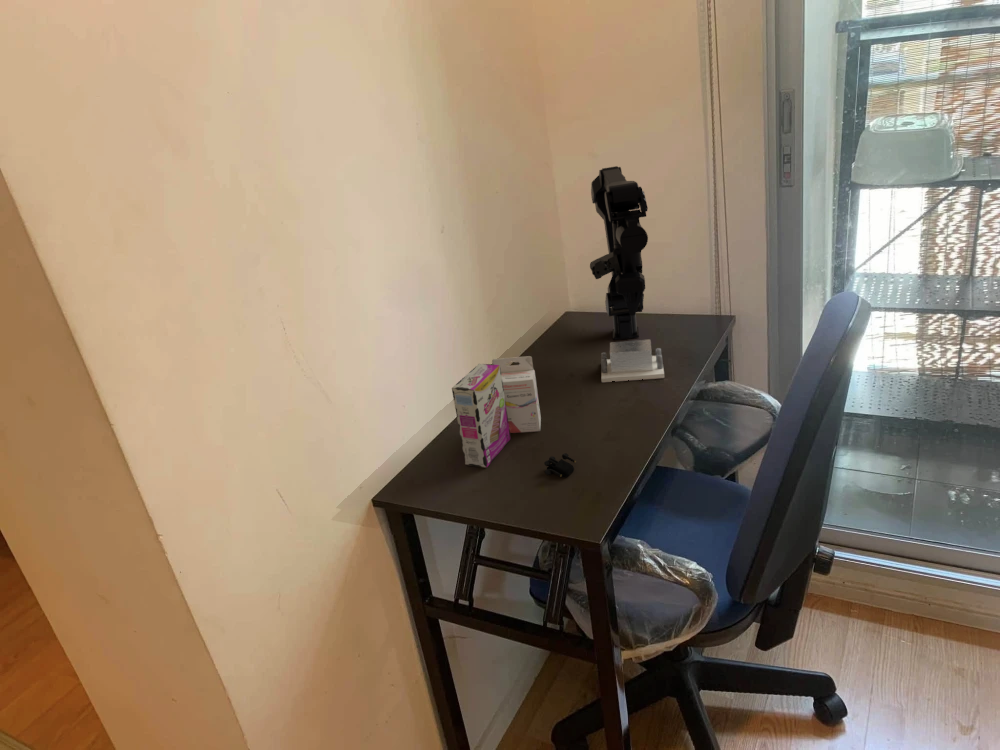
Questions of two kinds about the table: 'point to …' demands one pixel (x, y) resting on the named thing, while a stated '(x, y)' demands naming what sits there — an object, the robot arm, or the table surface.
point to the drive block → (631, 356)
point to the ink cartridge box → (520, 394)
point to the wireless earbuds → (559, 466)
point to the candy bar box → (481, 414)
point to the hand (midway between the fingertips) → (631, 308)
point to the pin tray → (609, 377)
